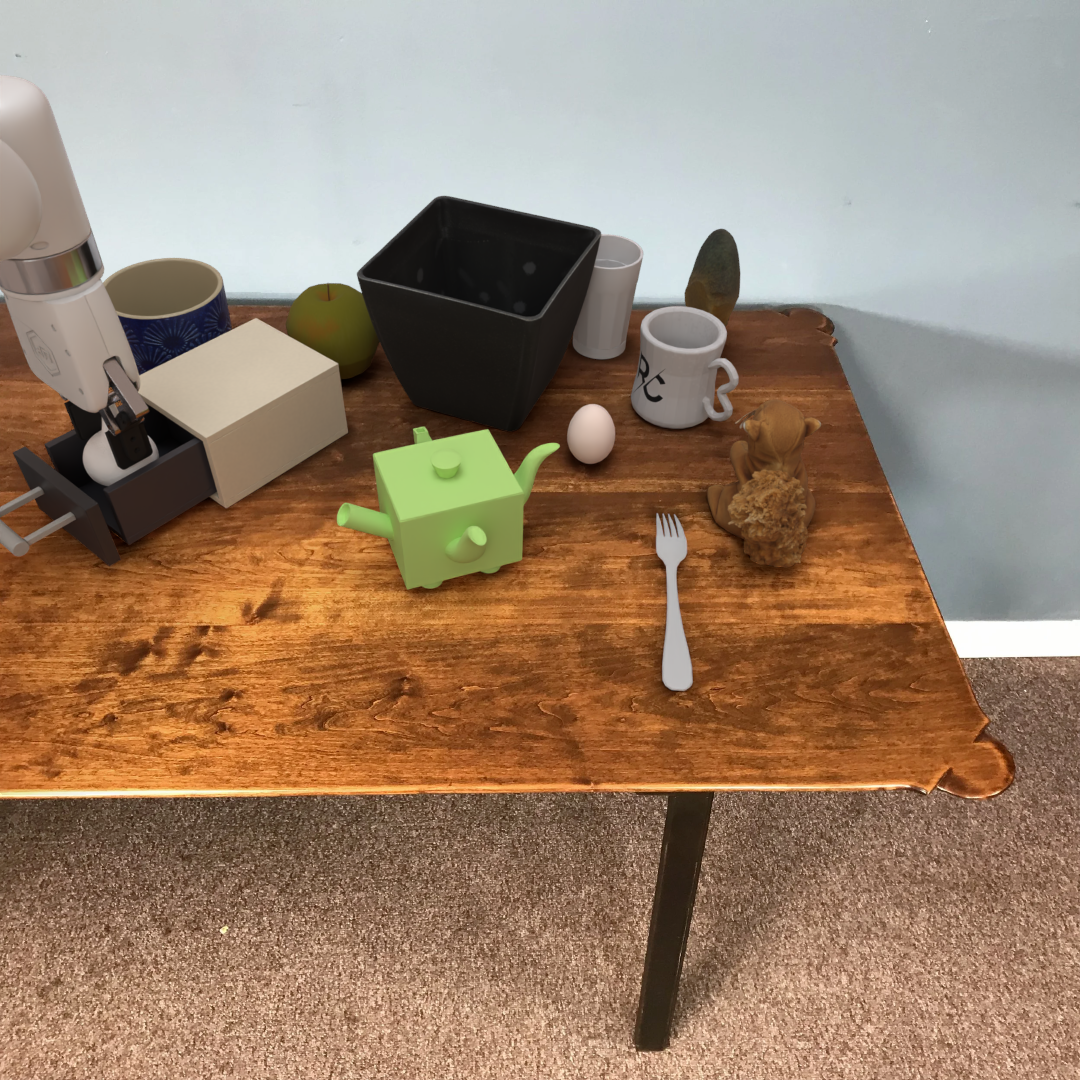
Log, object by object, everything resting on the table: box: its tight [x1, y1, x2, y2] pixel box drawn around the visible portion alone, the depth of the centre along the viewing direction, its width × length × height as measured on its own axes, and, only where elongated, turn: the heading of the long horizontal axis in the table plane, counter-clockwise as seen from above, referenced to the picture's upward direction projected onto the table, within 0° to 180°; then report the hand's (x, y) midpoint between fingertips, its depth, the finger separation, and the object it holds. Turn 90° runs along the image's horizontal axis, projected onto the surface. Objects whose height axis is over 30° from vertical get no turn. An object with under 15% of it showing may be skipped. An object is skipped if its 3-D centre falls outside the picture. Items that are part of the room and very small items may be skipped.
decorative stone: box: [684, 228, 741, 327], centre depth 104 cm, size 10×6×15 cm, turn 169°
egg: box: [566, 403, 616, 465], centre depth 92 cm, size 5×5×7 cm
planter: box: [102, 257, 233, 375], centre depth 99 cm, size 12×12×11 cm
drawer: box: [0, 403, 217, 567], centre depth 83 cm, size 20×11×7 cm, turn 141°
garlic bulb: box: [83, 403, 159, 486], centre depth 81 cm, size 6×6×8 cm
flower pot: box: [356, 195, 602, 433], centre depth 97 cm, size 19×19×17 cm
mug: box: [630, 305, 740, 430], centre depth 97 cm, size 12×9×10 cm
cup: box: [572, 233, 644, 360], centre depth 106 cm, size 8×8×12 cm
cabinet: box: [138, 317, 349, 509], centre depth 92 cm, size 16×13×9 cm
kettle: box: [336, 426, 561, 591], centre depth 81 cm, size 15×14×11 cm
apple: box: [284, 282, 380, 380], centre depth 101 cm, size 10×10×11 cm
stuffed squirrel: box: [706, 399, 822, 568], centre depth 83 cm, size 10×14×13 cm
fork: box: [655, 512, 694, 692], centre depth 81 cm, size 3×21×3 cm, turn 177°
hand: (115, 444), depth 82 cm, fingers closed on garlic bulb, 5 cm apart
